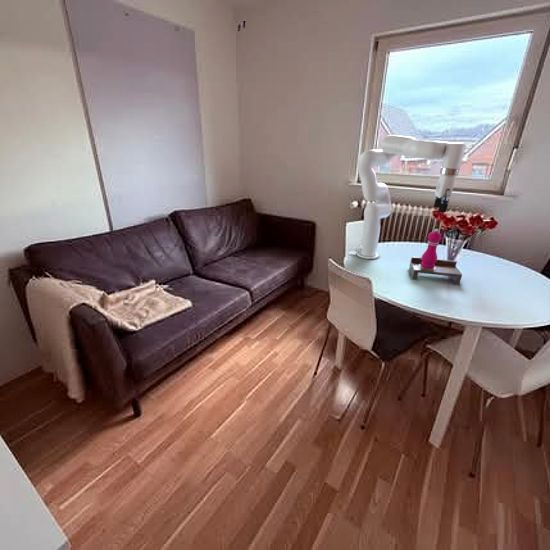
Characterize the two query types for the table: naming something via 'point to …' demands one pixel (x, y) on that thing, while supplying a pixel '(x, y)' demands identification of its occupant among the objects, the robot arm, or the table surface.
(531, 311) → the table surface
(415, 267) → the shelf
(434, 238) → the pepper mill
